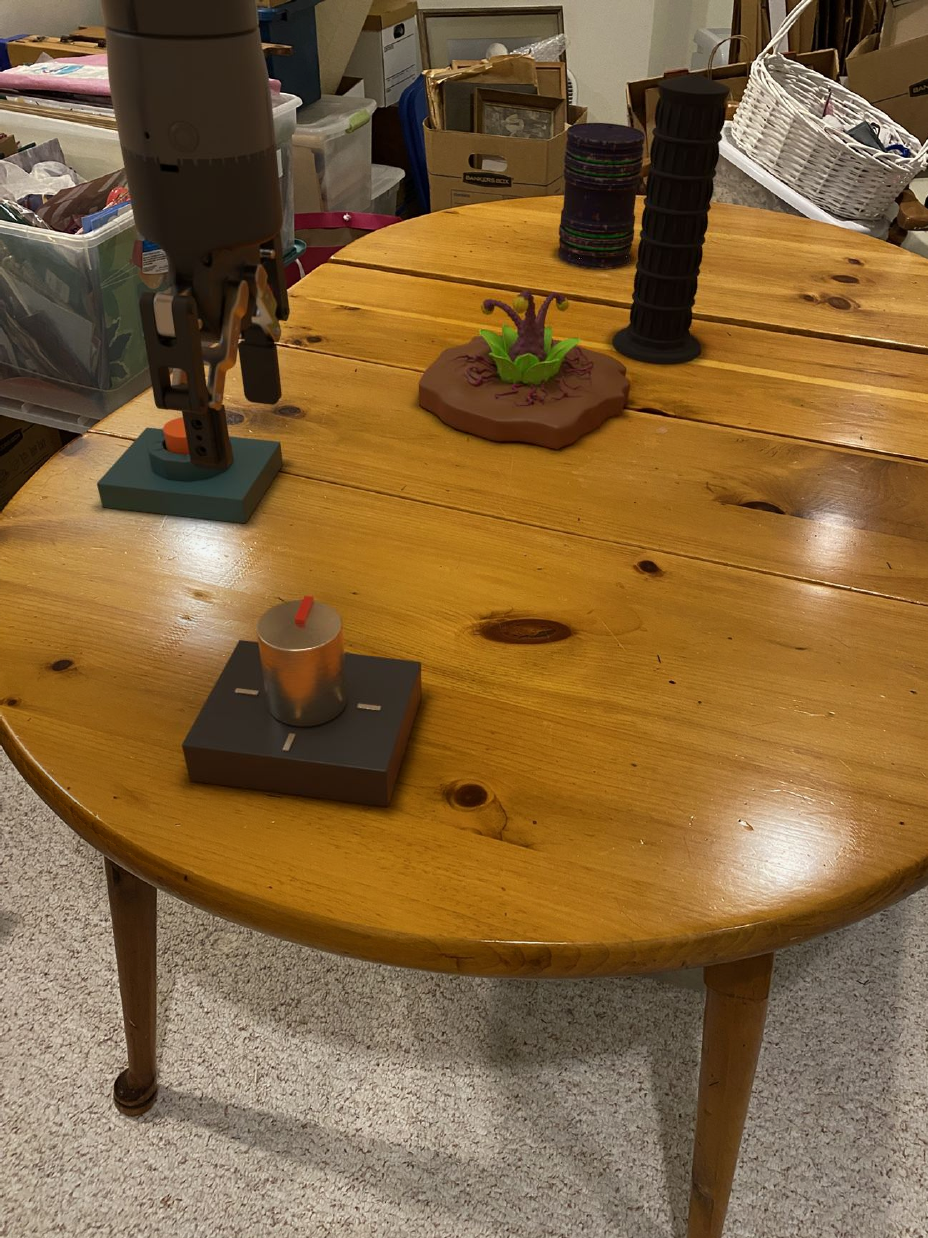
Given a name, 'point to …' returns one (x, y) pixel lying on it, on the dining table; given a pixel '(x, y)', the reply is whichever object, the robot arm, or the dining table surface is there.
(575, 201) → the storage jar
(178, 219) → the robot arm
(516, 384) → the plant
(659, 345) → the handle grip
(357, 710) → the panel
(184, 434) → the button
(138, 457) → the button block
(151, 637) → the dining table surface
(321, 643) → the knob
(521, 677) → the dining table surface
